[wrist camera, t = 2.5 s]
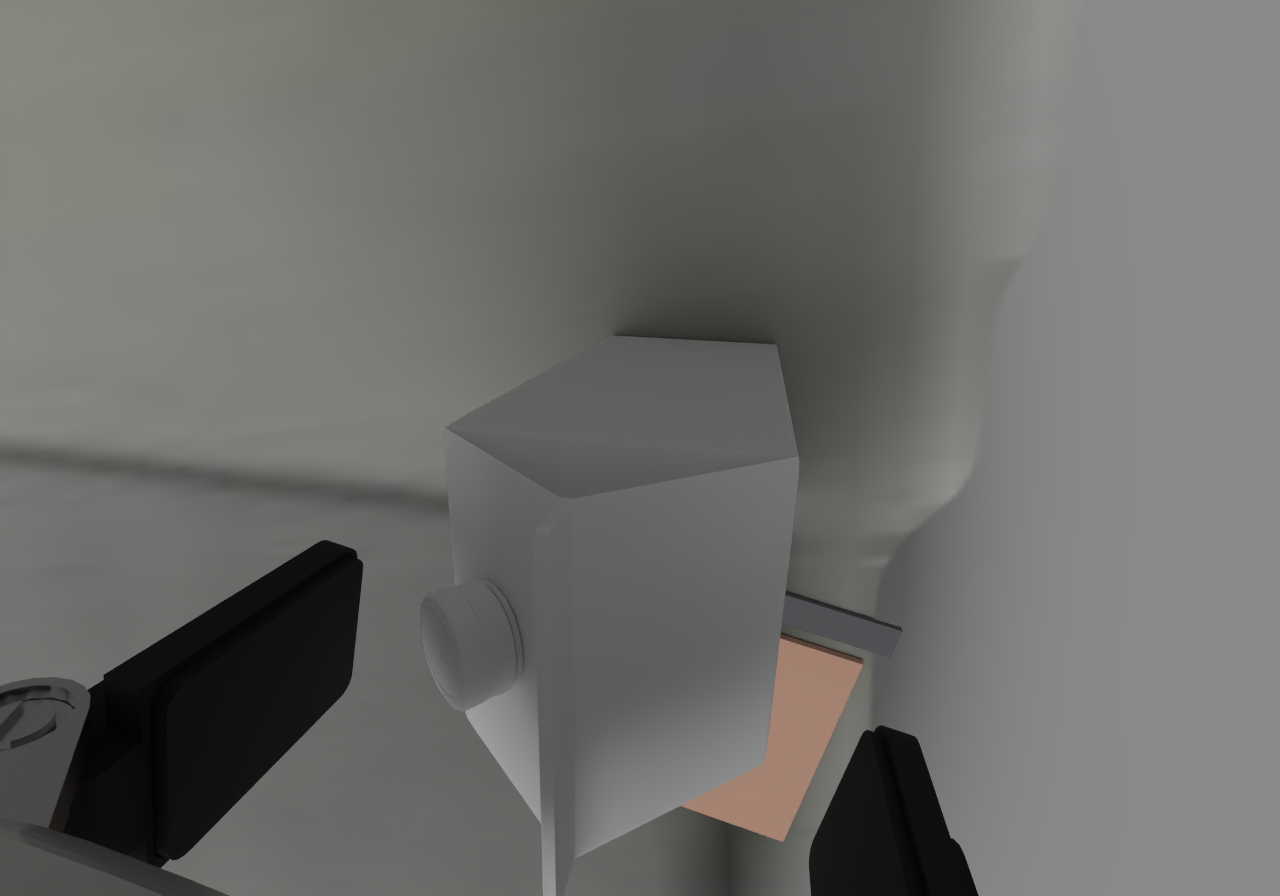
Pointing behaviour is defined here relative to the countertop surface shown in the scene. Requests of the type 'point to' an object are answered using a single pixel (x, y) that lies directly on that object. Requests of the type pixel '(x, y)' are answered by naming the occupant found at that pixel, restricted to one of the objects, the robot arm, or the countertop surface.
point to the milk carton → (619, 580)
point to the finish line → (840, 625)
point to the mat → (788, 740)
